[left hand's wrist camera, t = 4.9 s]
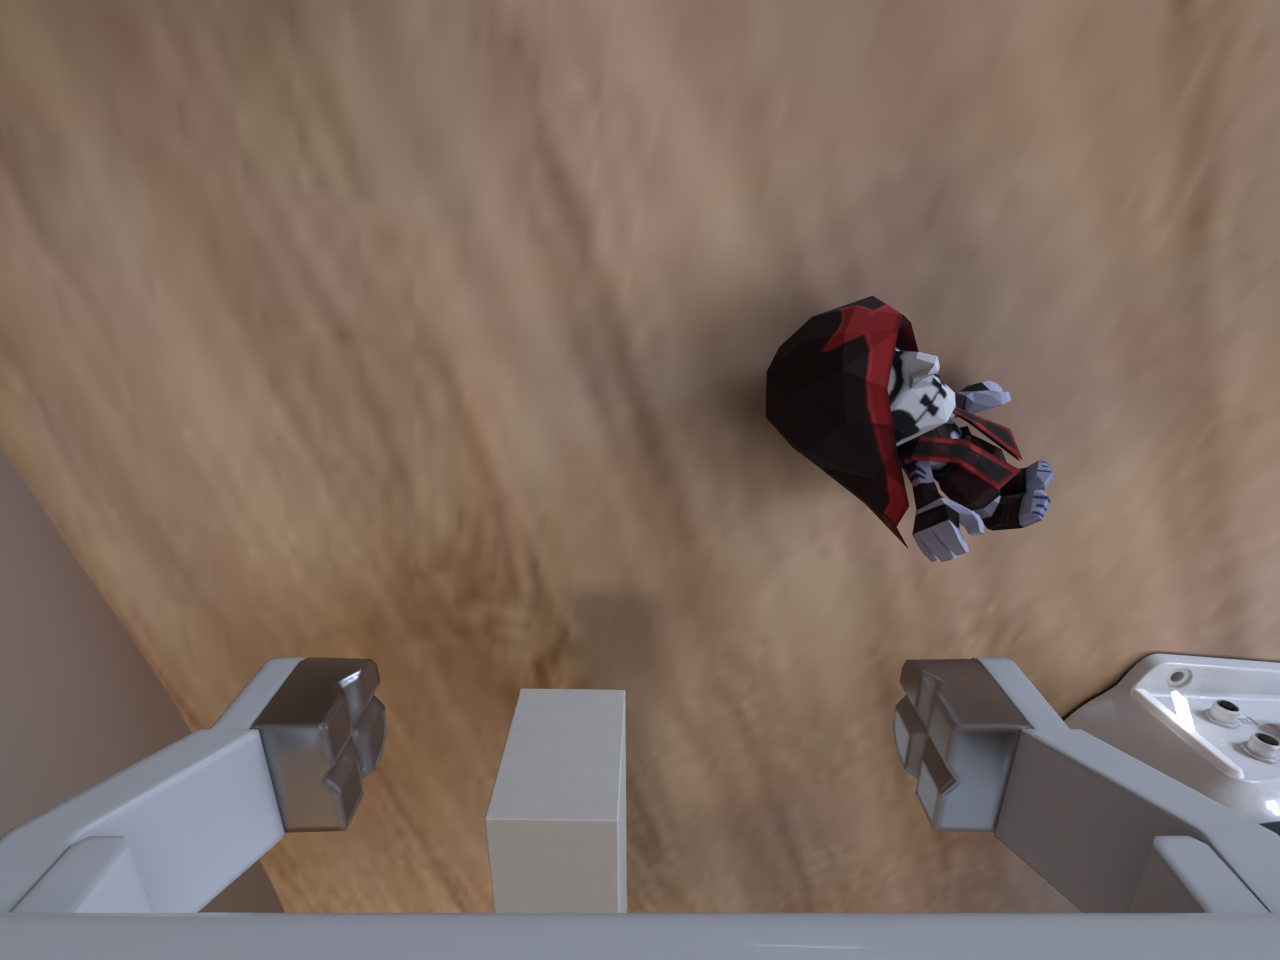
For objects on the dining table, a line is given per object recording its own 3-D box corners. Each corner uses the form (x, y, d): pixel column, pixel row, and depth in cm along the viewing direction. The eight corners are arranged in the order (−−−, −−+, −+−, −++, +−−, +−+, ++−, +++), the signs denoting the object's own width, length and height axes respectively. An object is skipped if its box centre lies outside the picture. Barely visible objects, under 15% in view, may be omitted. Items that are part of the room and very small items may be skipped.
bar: (520, 688, 34) (484, 818, 27) (625, 689, 34) (618, 820, 27) (543, 1001, 43) (520, 1166, 35) (627, 1003, 43) (622, 1168, 35)
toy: (1080, 573, 30) (817, 370, 28) (919, 617, 38) (704, 461, 36) (1098, 392, 36) (885, 215, 34) (957, 461, 44) (777, 321, 42)
